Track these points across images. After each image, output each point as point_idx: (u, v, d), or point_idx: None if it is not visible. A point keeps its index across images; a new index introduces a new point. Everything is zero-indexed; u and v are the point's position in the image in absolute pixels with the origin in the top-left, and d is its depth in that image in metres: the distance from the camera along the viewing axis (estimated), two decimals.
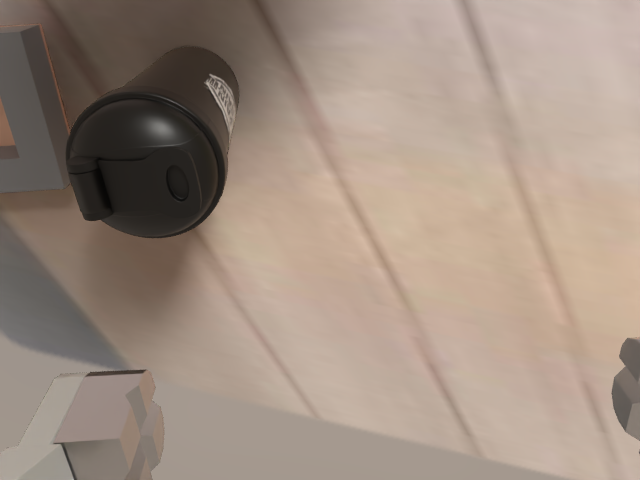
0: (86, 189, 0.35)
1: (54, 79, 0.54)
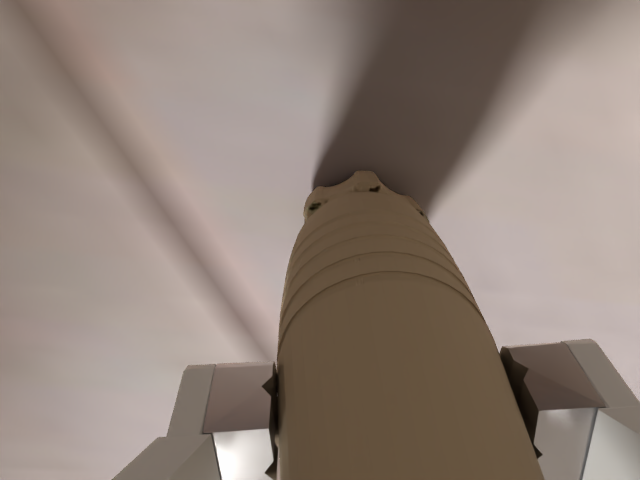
0: None
1: None
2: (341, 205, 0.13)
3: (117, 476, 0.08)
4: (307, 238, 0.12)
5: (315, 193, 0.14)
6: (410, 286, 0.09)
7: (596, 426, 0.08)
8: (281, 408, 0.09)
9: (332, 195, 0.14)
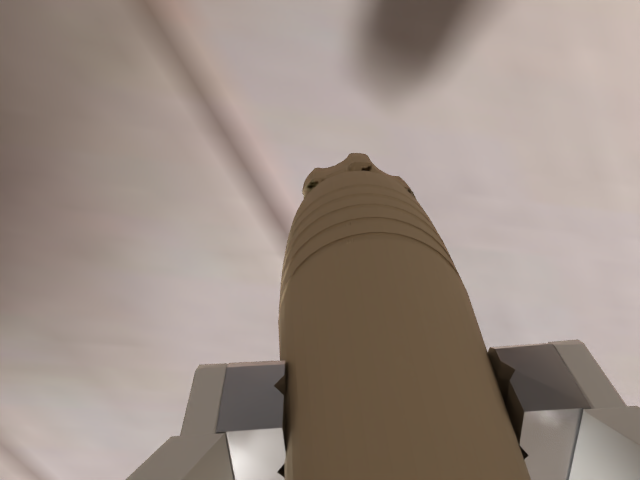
0: None
1: None
2: (335, 181, 0.14)
3: (132, 475, 0.08)
4: (305, 210, 0.14)
5: (313, 173, 0.16)
6: (393, 244, 0.11)
7: (581, 427, 0.08)
8: (282, 347, 0.10)
9: (328, 174, 0.15)
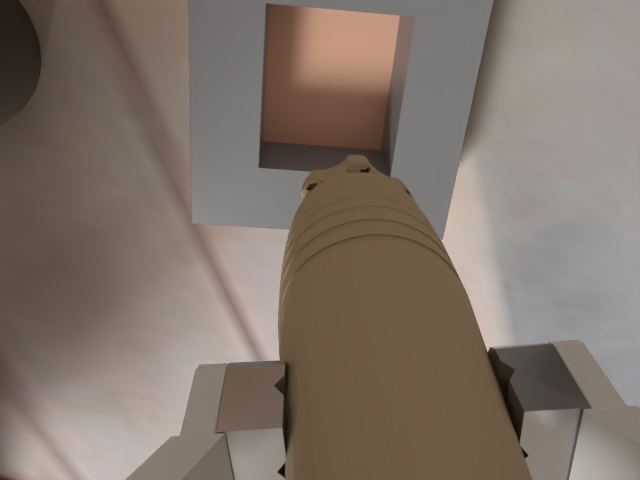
0: None
1: None
2: (335, 183, 0.14)
3: (132, 475, 0.08)
4: (304, 212, 0.14)
5: (311, 175, 0.16)
6: (393, 245, 0.11)
7: (581, 427, 0.08)
8: (282, 350, 0.10)
9: (327, 176, 0.15)
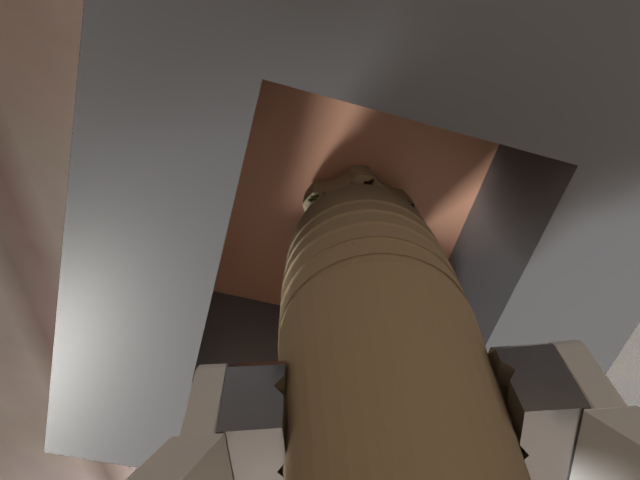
0: None
1: None
2: (337, 196, 0.14)
3: (131, 475, 0.08)
4: (306, 226, 0.13)
5: (313, 186, 0.15)
6: (399, 266, 0.10)
7: (582, 427, 0.08)
8: None
9: (329, 187, 0.15)
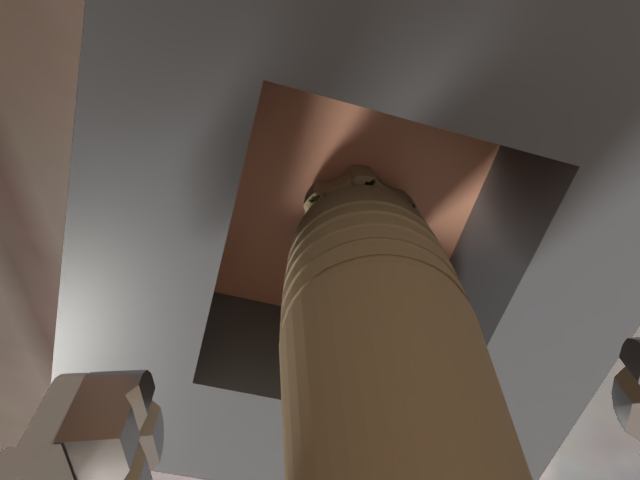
0: None
1: None
2: (339, 197, 0.14)
3: None
4: (307, 227, 0.13)
5: (314, 186, 0.15)
6: (400, 267, 0.10)
7: None
8: (283, 376, 0.10)
9: (330, 188, 0.15)
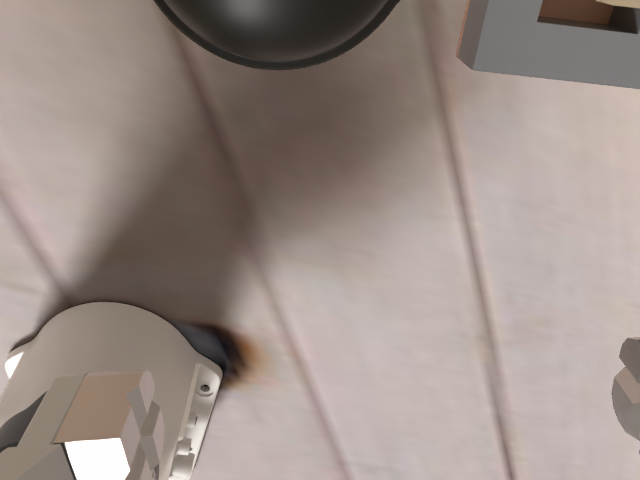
0: None
1: None
2: None
3: None
4: None
5: None
6: None
7: None
8: None
9: None
